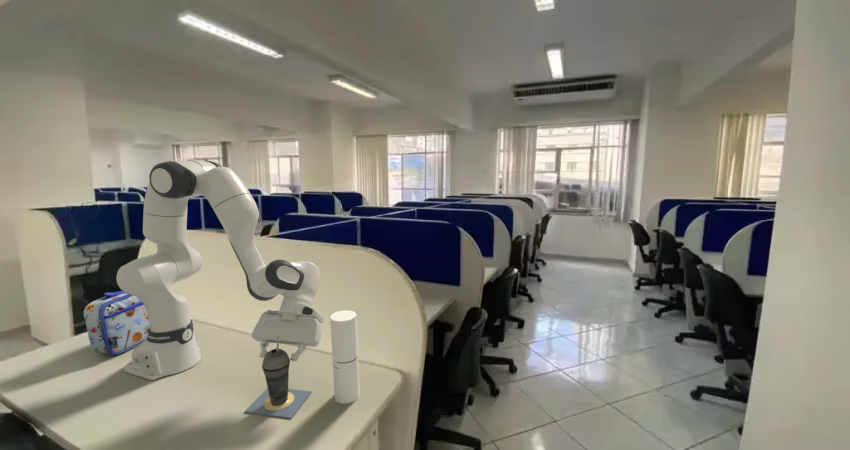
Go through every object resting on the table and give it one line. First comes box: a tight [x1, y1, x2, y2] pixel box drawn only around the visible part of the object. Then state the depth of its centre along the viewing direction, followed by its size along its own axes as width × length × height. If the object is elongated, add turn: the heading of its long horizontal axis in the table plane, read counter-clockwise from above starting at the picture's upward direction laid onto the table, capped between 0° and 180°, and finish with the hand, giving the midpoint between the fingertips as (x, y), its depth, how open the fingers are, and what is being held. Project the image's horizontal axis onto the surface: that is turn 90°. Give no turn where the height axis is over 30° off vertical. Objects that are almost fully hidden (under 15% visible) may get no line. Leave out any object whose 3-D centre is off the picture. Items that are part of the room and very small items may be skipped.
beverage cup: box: [261, 335, 291, 406], centre depth 98 cm, size 7×7×20 cm
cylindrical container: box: [330, 309, 361, 405], centre depth 101 cm, size 7×7×25 cm
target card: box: [244, 387, 313, 420], centre depth 100 cm, size 14×11×1 cm
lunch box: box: [83, 290, 150, 356], centre depth 132 cm, size 28×10×22 cm, turn 169°
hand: (278, 359), depth 99 cm, fingers open, 8 cm apart
